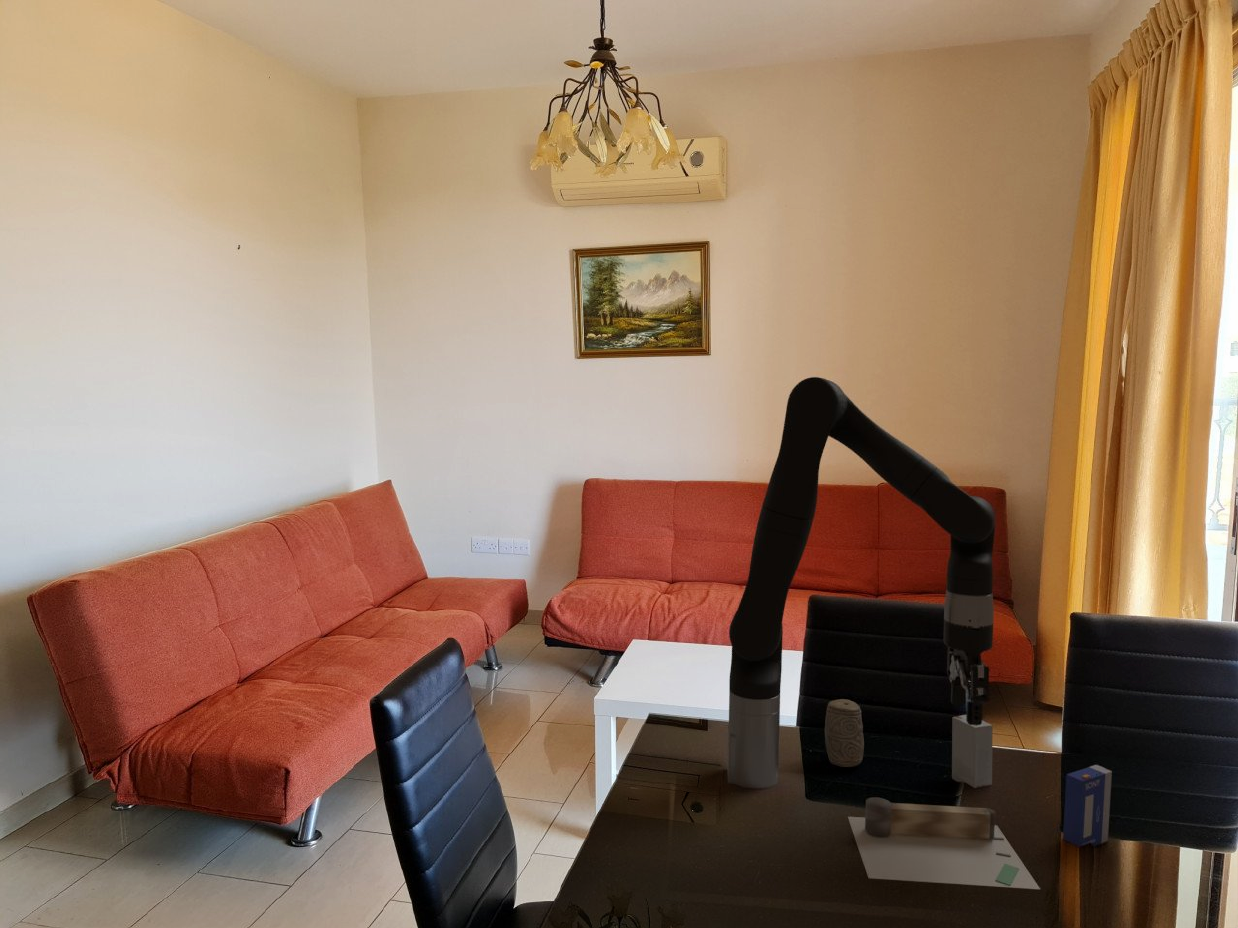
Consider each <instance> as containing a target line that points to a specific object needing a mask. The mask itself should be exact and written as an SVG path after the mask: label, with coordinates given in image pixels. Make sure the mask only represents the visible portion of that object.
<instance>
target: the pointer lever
mask: <svg viewBox="0 0 1238 928" xmlns="http://www.w3.org/2000/svg"><path fill="white" fill-rule="evenodd" d="M864 813H865V815H864V818H865V830H866V831H867V832H868V833H869V834H871V835H874V836H879V837H885V836H888V835H890V834H891V833H901V834H918V835H934V836H951V837H968V838H984V839H993V838H994V829H995V825H996V811H995V810H993V809H992V808H987V807H968V806H953V805H952V806H951V805H933V804H920V803H919V804H917V803H916V804H915V803H903V802H902V803H900V802H898V803H897V802H896V803H895V802H890V801H889V800H887V799H885V798H882V797H869V798H867V799H866V800H865V812H864Z"/></svg>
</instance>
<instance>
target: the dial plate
mask: <svg viewBox="0 0 1238 928" xmlns="http://www.w3.org/2000/svg"><path fill="white" fill-rule="evenodd" d="M847 818H848V822H849V825H850V828H851V830H852V833H853V836H854V840H855V843H856V846H857V848H858V852H859V854H860V857H861V860H862V863H863V866H864V869H865V872H866V875H867V877H868V879H873V880H890V881H891V880H892V881H904V882H918V883H919V882H920V883H935V884H937V883H938V884H947V885H949V884H951V885H967V886H982V887H996V888H997V887H999V888H1010V889H1011V888H1012V889H1025V890H1039V891H1040V890H1041V887H1040V886H1039V885H1038V883H1037V882H1036V881H1035V879H1034V878H1033V876H1032V875H1031V873H1030V872H1029V870H1028V869H1027V867H1026V866H1025V865H1024V862H1023V861H1022V860H1021V858H1020V857H1019V855H1018V854H1017V852H1016V851H1015V850H1014V848H1013V847H1012V845H1011V844H1010V842H1009V841H1008V840H1007V838H1006V836H1005V835H1004V834H1003V832H1002V831H1001V829H1000V828H999V826H998V825H996V824H995V829H994V838H993V839H984V838H968V837H951V836H934V835H918V834H901V833H891V834H890V835H888V836H885V837H879V836H874V835H871V834H869V833H868V832H867V831H866V830H865V817H864V816H863V817H862V816H861V817H859V816H847Z"/></svg>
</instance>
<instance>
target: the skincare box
mask: <svg viewBox="0 0 1238 928" xmlns="http://www.w3.org/2000/svg"><path fill="white" fill-rule="evenodd" d="M966 715H967V714H962V715H956V716H953V717H951V718H952V725H951V726H952V727H951V728H952V729H951V734H952V736H951V737H952V738H951V740H952V741H951V742H952V743H951V745H952V746H951V752H952V753H951V754H952V755H951V778H952V780H953V781H955V782H957V783H966V784H967V785H969V786H970V787H972V788H974V789H976V788H982V787H988V786H992V784H993V738H994V737H993V728H994V726H993V725H992V724H990V723H988V722H986V721H984V720H982V723H981V724H980V725H970V724H968V723H967V721H966Z"/></svg>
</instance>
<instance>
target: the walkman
mask: <svg viewBox="0 0 1238 928" xmlns="http://www.w3.org/2000/svg"><path fill="white" fill-rule="evenodd" d="M1112 774H1113V771H1112V770H1110V769H1107V768H1105V767H1103V766H1100V765H1099V764H1094V765H1091V766H1088V767H1085V768H1083V769H1079V770H1076V771H1072V772H1070V773H1067V774H1065V775H1066V776H1065V778H1066V779H1065V793H1064V794H1065V795H1064V796H1065V797H1064V799H1065V800H1064V810H1063V812H1064V813H1063V816H1064V817H1063V832H1062V833H1063V834H1062V835H1063V836H1062V839H1063V840H1064V841H1066V842H1068V843H1071V844H1072V845H1074V846H1076V847H1079V848H1080V847H1082V846H1085V845H1087V844H1091V845H1092V847H1096V846H1099V845H1101V844H1104V843H1107V842H1109V841H1108V840H1109V824H1110V810H1111V809H1110V807H1111V791H1112V776H1113V775H1112Z"/></svg>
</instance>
